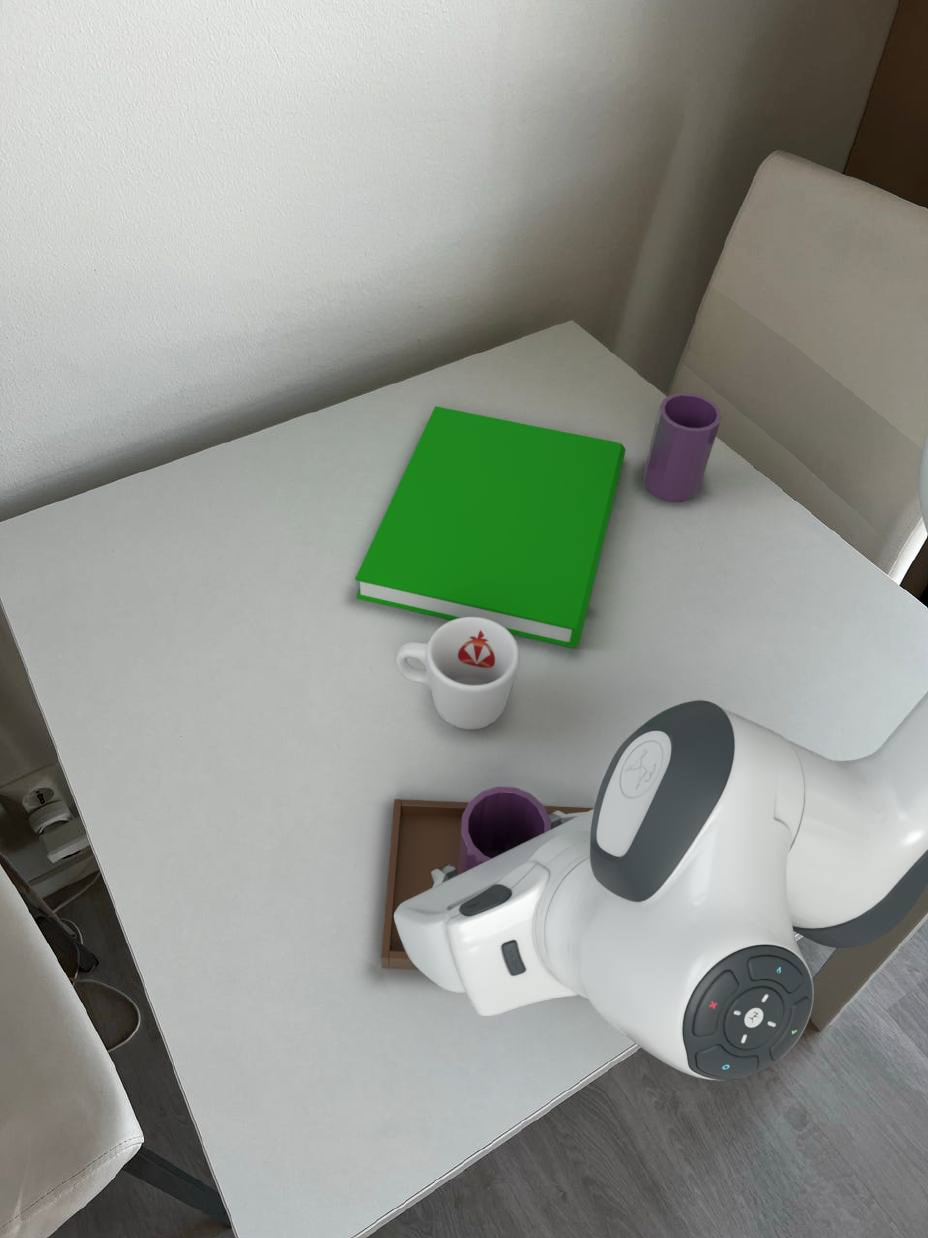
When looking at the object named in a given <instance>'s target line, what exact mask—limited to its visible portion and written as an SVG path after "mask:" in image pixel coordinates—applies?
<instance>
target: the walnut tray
mask: <svg viewBox="0 0 928 1238" xmlns="http://www.w3.org/2000/svg"><path fill="white" fill-rule="evenodd" d="M393 800H394V801H393V813H392V821H391V822H392V823H391V837H390V845H389V860H388V871H387V883H386V892H385V893H386V895H385V904H384V905H385V906H384V919H383V930H382V942H381V952H380V963H381V964H380V965H381V968H382V969H401V970H402V969H404V970H419V969H418V968H417V967H416V966H415V965H414V964H413V962H412V961H411V960H410V958H409V957H408V955H407V953H406V951H405V949H404V946H403V944H402V941H401V939H400V936H399V933H398V930H397V927H396V924H395V920H394V913H395V911H396V909H397V908H398V906H399V905H400V904H401V903H402V902H404V901H406V900H408V899H410V898H413V897H415V896H417V895H419V894H421V893H423V892H425V891H427V890H429V889H431V888H432V887H433V885H434V880H433V877H432V874H431V872H432V871H433V870H435V869H438V868H440V867H442V866H444V865H447V864H449V863H450V864H451V866H453V867H455V868H456V870H457V871H458V858H459V846H460V834H461V821H462V815H463V813H464V811H465V809H466V807H467V805H468V803H469V802H470V801H449V800H448V801H445V800H423V799H406V798H405V799H401V798H395V799H393ZM543 806H544V807H545V809H546V811H547V813H548V815H549V814H551V813H553V812H555V811H557V810H558V811H561V812H563V813H565V814H569V813H580V812H588V811H590V810H592V809H594V808H595V807H577V806H558V805H557V806H556V805H555V806H554V805H543Z"/></svg>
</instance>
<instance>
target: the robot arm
mask: <svg viewBox="0 0 928 1238" xmlns="http://www.w3.org/2000/svg"><path fill="white" fill-rule="evenodd" d="M924 439H925V440H924V441H923V445H922V450H921V453H920V454H921V455H920V460H919V468H918V483H917V484H918V500H919V501H918V502H919V507H920V511H921V517H922V520H923V524H924V527H925V531H926V534H928V434H927V435H926V437H925V438H924ZM593 808H594V809H592V810H590V811H588V812H580V813H569V814H565V813H563V812H561V811H558V810H557V811H555V812H553V813H551V814H549V815H548V816H549V818H550V820H551V830H549V831H547V832H545V833H543V834H541V835H539V836H537V837H535V838H533V839H531V840H529V841H527V842H525V843H523V844H521V845H519V846H517V847H515V848H512V849H510V850H508V851H506V852H504V853H502V854H500V855H498V856H496V857H494V858H492V859H490V860H488V861H486V862H484V863H482V864H480V865H478V866H476V867H474V868H472V869H470V870H468V871H466V872H464V873H462V874H460V875H458V873H457V870H456V868H455V867H453V866H451V864H450V863H449V864H447V865H444V866H442V867H440V868H438V869H435V870H433V871H432V872H431V874H432V877H433V880H434V885H433V887H432V888H431V889H429V890H427V891H425V892H423V893H421V894H419V895H417V896H415V897H413V898H410V899H408V900H406V901H404V902H402V903H401V904H400V905H399V906H398V908H397V909H396V911H395V913H394V920H395V924H396V927H397V930H398V933H399V936H400V939H401V941H402V944H403V946H404V949H405V951H406V953H407V955H408V957H409V958H410V960H411V961H412V962H413V964H414V965H415V966H416V967H417V968H418V969H417V970H419V971H420V972H421V973H422V974H424V976H426V977H427V979H428V980H431V981H432V982H433V983H435V984H436V985H437V986H438V987H440V988H442V989H443V990H446V991H448V992H451V993H457V994H466V996H467V998H468V1000H469V1002H470V1004H471V1006H472V1008H473V1010H474V1011H475V1012H476V1013H477V1014H478V1016H482V1017H493V1016H497V1015H501V1014H503V1013H506V1012H509V1011H512V1010H515V1009H518V1008H521V1007H524V1006H529V1005H531V1004H535V1003H539V1002H540V1003H541V1002H544V1001H549V1000H555V999H562V998H563V999H564V998H570V997H575V996H581V997H582V998H583V999H587V1000H588V1001H589V1002H590V1004H592V1007H593V1008H594V1010H596V1012H597V1013H598V1015H600V1016H601V1017H602V1018H603V1019H604V1020H606V1022H608V1023H609V1024H610V1025H611V1026H612V1027H614V1028H615V1029H616V1030H618V1031H619V1032H620V1033H621V1034H622V1035H624V1036H625V1037H627V1038H628V1039H629V1040H630V1041H631V1042H633V1043H634V1044H635V1045H637V1046H638V1047H640V1048H641V1049H642V1050H644V1051H645V1052H647V1053H648V1054H650V1055H651V1056H653V1057H654V1058H656V1059H658V1061H659V1060H660V1061H661V1062H663V1063H665V1064H666V1065H667V1066H670V1067H672V1068H674V1069H675V1070H677V1071H679V1072H681V1073H684V1074H687V1075H689V1076H692V1077H695V1078H698V1079H703V1080H708V1081H725V1082H726V1081H735V1080H740V1079H745V1078H748V1077H751V1076H753V1075H756V1074H759V1073H760V1072H763V1071H765V1070H768V1069H769V1068H770V1067H772V1066H773V1065H775V1064H777V1062H779V1061H780V1060H782V1058H784V1057H785V1056H786V1055H787V1054H788V1053H789V1052H790V1050H792V1049H793V1047H794V1046H795V1045H796V1043H797V1042H798V1041H799V1039H800V1038H801V1036H802V1034H803V1033H804V1031H805V1029H806V1027H807V1024H808V1022H809V1020H810V1016H811V1015H812V1010H813V1004H814V996H815V995H814V990H815V989H814V982H813V977H812V973H811V971H810V968H809V966H808V963H807V961H806V959H805V957H804V956H803V953H802V951H801V949H800V946H799V945H798V941H797V938H796V935H795V933H796V934H797V935H800V936H802V937H804V938H805V939H808V940H809V941H811V942H813V943H815V944H817V945H820V946H825V947H829V948H834V949H835V948H836V949H850V948H856V947H861V946H865V945H867V944H870V943H872V942H874V941H876V940H878V939H880V938H882V937H883V936H885V935H887V934H888V933H889V932H890V931H892V930H893V929H894V928H895V927H897V926H898V925H900V923H901V922H902V921H903V920H904V919H905V918H906V917H907V916H908V914H909V913H911V911H912V909H913V908H914V906H916V904H917V902H918V901H919V899H920V898H921V896H922V895H923V893H924V891H925V890H926V888H927V887H928V691H926V693H925V694H924V695H923V696H922V697H921V699H920V700H918V702H917V704H915V706H914V707H913V708H912V709H911V710H910V712H908V714H907V715H906V716H905V717H904V719H902V721H901V722H900V723H899V724H898V726H897V727H896V728H895V729H894V730H893V732H891V733H890V735H889V736H888V737H887V738H886V740H885V741H884V742H883V743H882V744H881V746H880V747H879V748H878V749H876V750H875V751H874V752H872V753H871V754H868V755H867V756H864V757H860V758H857V759H856V758H855V759H850V760H835V759H830V758H828V757H826V756H824V755H822V754H819V753H818V752H815V751H813V750H811V749H810V748H807V747H806V746H802V745H801V744H798V743H796V742H794V741H792V740H789V739H788V738H785V737H784V736H783V735H781V734H780V733H778V732H777V731H774V730H772V729H770V728H768V727H766V726H764V725H762V724H759V723H758V722H755V721H753V720H751V719H749V718H746V717H744V716H742V715H740V714H738V713H735V712H733V711H732V710H729V709H726V708H724V707H722V706H720V705H718V704H716V703H715V702H711V701H709V700H702V699H700V700H699V699H697V700H689V701H686V702H682V703H679V704H675V705H673V706H671V707H669V708H666V709H665V710H662V711H661V712H659V713H658V714H656V715H654V716H653V717H651V718H650V719H648V720H647V721H646V722H645V723H643V724H642V725H640V726H639V727H638V728H637V729H636V730H635V731H634V732H633V733H631V734H630V735H629V737H627V738H626V739H625V740H624V741H623V742H622V744H621V745H620V746H619V747H618V748H617V749H616V752H615V753H614V755H613V757H612V759H611V761H610V763H609V765H608V767H607V769H606V772H605V774H604V776H603V779H602V781H601V784H600V786H599V790H598V793H597V797H596V800H595V804H594V807H593Z"/></svg>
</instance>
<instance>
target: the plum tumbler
mask: <svg viewBox="0 0 928 1238" xmlns="http://www.w3.org/2000/svg"><path fill="white" fill-rule="evenodd" d="M468 802H469V803H468V805H467V807H466V809H465V811H464V813H463V815H462V821H461V834H460V846H459V858H458V871H457V873H458V875H460V874H462V873H464V872H466V871H468V870H470V869H472V868H474V867H476V866H478V865H480V864H482V863H484V862H486V861H488V860H490V859H492V858H494V857H496V856H498V855H500V854H502V853H504V852H506V851H508V850H510V849H512V848H515V847H517V846H519V845H521V844H523V843H525V842H527V841H529V840H531V839H533V838H535V837H537V836H539V835H541V834H543V833H545V832H547V831H549V830H551V820H550V818H549V816H548V813H547V811H546V809H545V807H544V806H545V805H544V804H543V803H542V802H540V801H539V800H538V799H537V797H535V796H534V795H533V794H531V792H528V791H526V790H522V789H520V788H518V787H515V786H514V787H513V786H495V787H492V788H489V789H486V790H483V791H481V792H480V793H478V794H477V795H476V796H475V797H473V798H472V799H471V800H470V801H468Z"/></svg>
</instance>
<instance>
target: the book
mask: <svg viewBox="0 0 928 1238" xmlns="http://www.w3.org/2000/svg"><path fill="white" fill-rule="evenodd" d="M625 454H626V448H625V446H624V445H623V442H617V441H612V440H606V439H602V438H598V437H593V436H586V435H582V434H577V433H571V432H566V431H562V430H557V429H551V428H546V427H542V426H537V425H532V424H528V423H522V422H517V421H511V420H508V419H507V420H506V419H501V418H496V417H492V416H491V417H490V416H486V415H482V414H476V413H471V412H468V411H467V412H466V411H462V410H457V409H451V408H447V407H443V406H442V407H441V406H437V405H435V406H434V408H433V410H432V411H431V414H430V417H429V418H428V421H427V423H426V425H425V427H424V429H423V431H422V434H421V436H420V438H419V439H418V442H417V445H416V447H415V449H414V451H413V453H412V455H411V457H410V460H409V462H408V464H407V466H406V468H405V470H404V473H403V475H402V477H401V479H400V481H399V483H398V485H397V488H396V490H395V491H394V494H393V496H392V498H391V501H390V502H389V504H388V506H387V509H386V511H385V513H384V515H383V518H382V519H381V521H380V524H379V525H378V528H377V530H376V532H375V535H374V537H373V539H372V541H371V543H370V545H369V547H368V550H367V551H366V554H365V555H364V556H365V557H364V558H363V561H362V563H361V565H360V568H359V569H358V571H357V573H356V575H355V579H354V580H355V581H357V582H359V590H358V592H357V595H356V599H358V600H362V601H366V602H371V603H375V604H379V605H383V606H388V607H393V608H397V609H402V610H406V611H409V612H414V613H419V614H421V615H422V614H423V615H427V616H432V617H435V618H440V619H445V620H449V621H451V620H454V619H458V618H463V617H481V618H486V619H489V620H492V621H494V622H496V623H498V624H500V625H502V626H503V627H504V628H506V629H507V630H508V631H509V632H510V633H511V634H512V636H519V637H522V638H526V639H531V640H535V641H540V642H544V643H549V644H552V645H557V646H562V647H566V648H569V649H573V648H575V647H577V646H579V645H580V641H581V638H582V634H583V630H584V625H585V621H586V617H587V612H588V609H589V604H590V601H591V596H592V591H593V588H594V585H595V579H596V575H597V571H598V567H599V564H600V563H599V562H600V558H601V554H602V549H603V546H604V542H605V538H606V534H607V530H608V526H609V522H610V518H611V517H610V516H611V514H612V509H613V505H614V501H615V496H616V492H617V489H618V484H619V480H620V477H621V472H622V469H623V468H622V467H623V463H624V459H625Z"/></svg>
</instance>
